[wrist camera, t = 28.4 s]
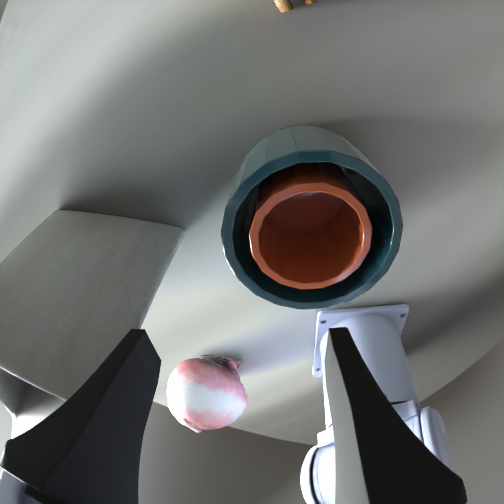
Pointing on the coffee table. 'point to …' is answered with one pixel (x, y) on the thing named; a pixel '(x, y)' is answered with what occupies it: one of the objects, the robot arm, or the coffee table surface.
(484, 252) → the coffee table surface
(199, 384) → the onion
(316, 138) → the base cup
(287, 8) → the figurine
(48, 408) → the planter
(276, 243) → the cup
